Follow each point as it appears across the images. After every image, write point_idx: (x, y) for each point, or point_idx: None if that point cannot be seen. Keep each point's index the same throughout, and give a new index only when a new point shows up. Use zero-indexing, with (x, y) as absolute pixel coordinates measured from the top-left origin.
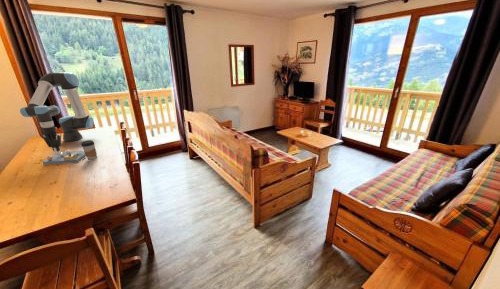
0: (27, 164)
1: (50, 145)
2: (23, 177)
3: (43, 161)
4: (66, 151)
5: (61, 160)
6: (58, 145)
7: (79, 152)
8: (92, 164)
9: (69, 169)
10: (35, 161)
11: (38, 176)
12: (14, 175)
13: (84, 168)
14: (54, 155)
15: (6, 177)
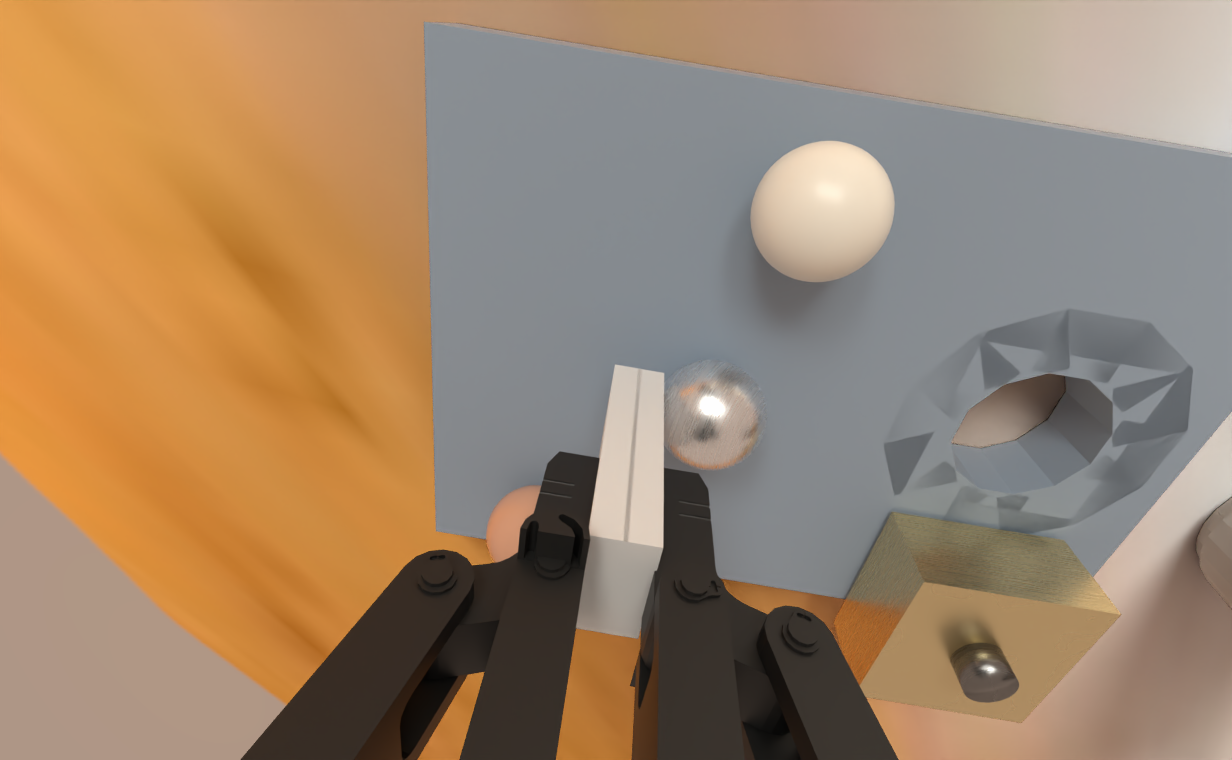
0: (148, 388)
1: (441, 665)
2: (459, 724)
3: (447, 522)
4: (792, 277)
5: (766, 577)
6: (779, 749)
7: (1108, 241)
8: (1227, 695)
9: (913, 721)
10: (170, 287)
11: (612, 750)
12: (310, 661)
13: (1102, 753)
14: (473, 259)
15: (261, 675)
